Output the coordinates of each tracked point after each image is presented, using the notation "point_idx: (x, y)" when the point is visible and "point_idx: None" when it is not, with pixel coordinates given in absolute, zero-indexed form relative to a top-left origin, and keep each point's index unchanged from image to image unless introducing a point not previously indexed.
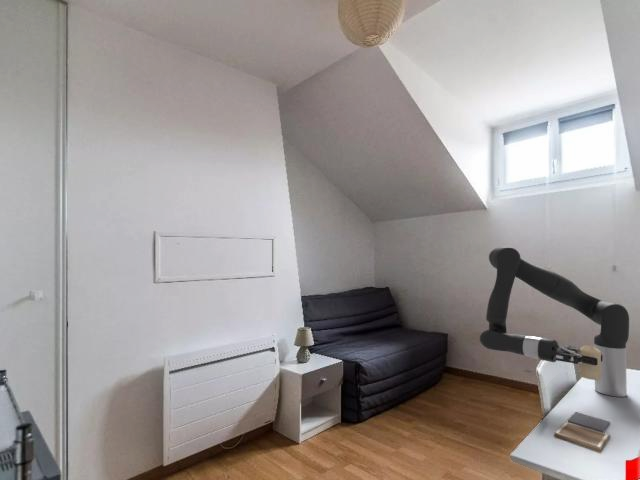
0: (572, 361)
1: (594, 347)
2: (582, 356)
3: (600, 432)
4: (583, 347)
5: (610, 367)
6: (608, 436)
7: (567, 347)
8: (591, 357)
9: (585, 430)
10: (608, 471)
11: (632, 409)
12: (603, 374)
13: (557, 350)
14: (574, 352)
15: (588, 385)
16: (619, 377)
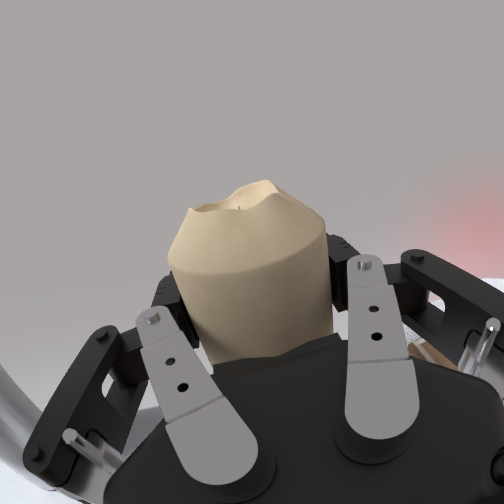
0: (435, 310)
1: (249, 185)
2: (328, 282)
3: (423, 351)
4: (291, 209)
5: (13, 403)
6: (417, 340)
7: (237, 415)
8: (327, 236)
9: (447, 366)
10: (490, 281)
11: (145, 412)
12: (28, 439)
13: (471, 437)
14: (368, 287)
15: (29, 501)
16: (35, 407)
